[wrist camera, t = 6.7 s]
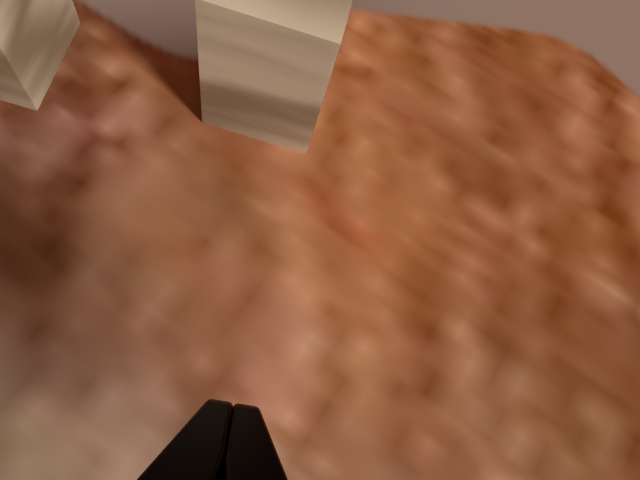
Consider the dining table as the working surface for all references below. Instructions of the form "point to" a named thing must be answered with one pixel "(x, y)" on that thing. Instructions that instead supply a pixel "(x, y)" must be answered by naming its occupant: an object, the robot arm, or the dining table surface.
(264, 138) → the plain block
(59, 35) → the marked block 1
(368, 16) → the dining table surface
